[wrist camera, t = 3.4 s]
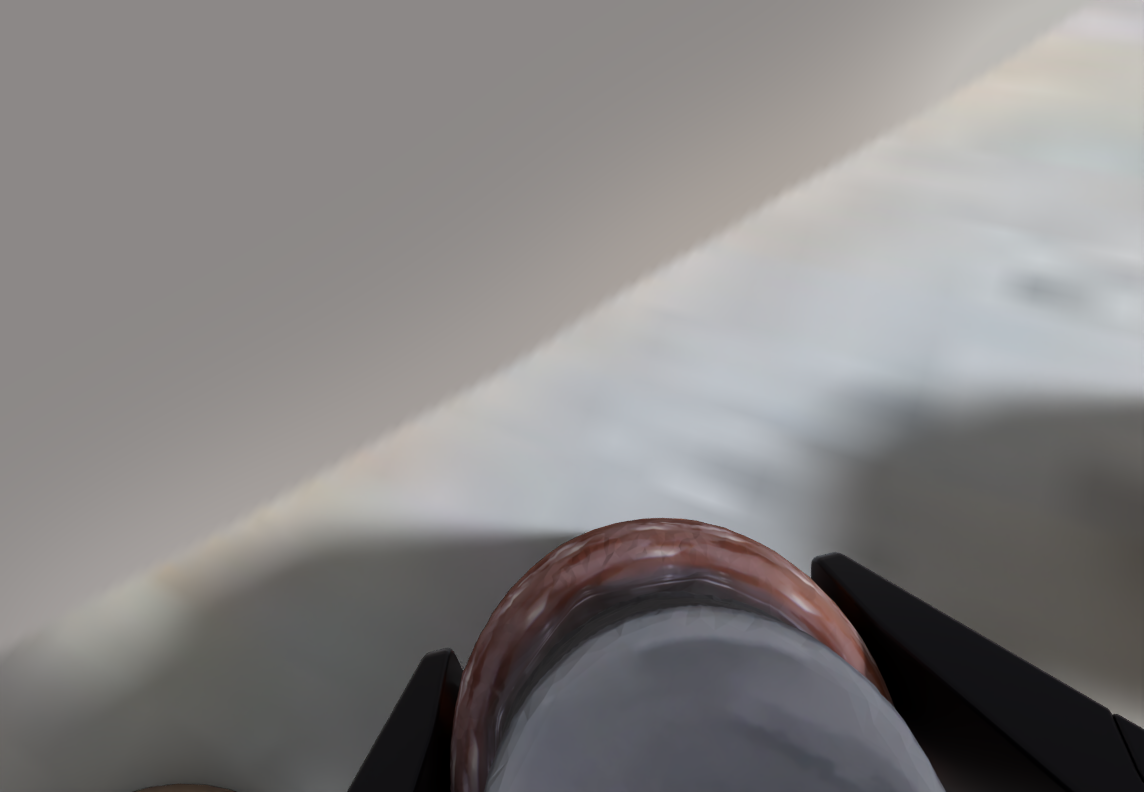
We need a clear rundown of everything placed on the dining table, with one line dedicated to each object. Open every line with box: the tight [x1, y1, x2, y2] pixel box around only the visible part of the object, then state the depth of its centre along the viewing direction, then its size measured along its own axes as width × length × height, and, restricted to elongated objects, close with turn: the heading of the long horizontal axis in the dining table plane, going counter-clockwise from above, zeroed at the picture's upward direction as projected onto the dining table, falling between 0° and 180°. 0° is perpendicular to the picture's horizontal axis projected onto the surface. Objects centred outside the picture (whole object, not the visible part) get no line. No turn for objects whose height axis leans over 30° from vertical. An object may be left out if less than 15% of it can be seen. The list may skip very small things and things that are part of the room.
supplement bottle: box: [450, 518, 946, 792], centre depth 10 cm, size 6×6×11 cm
